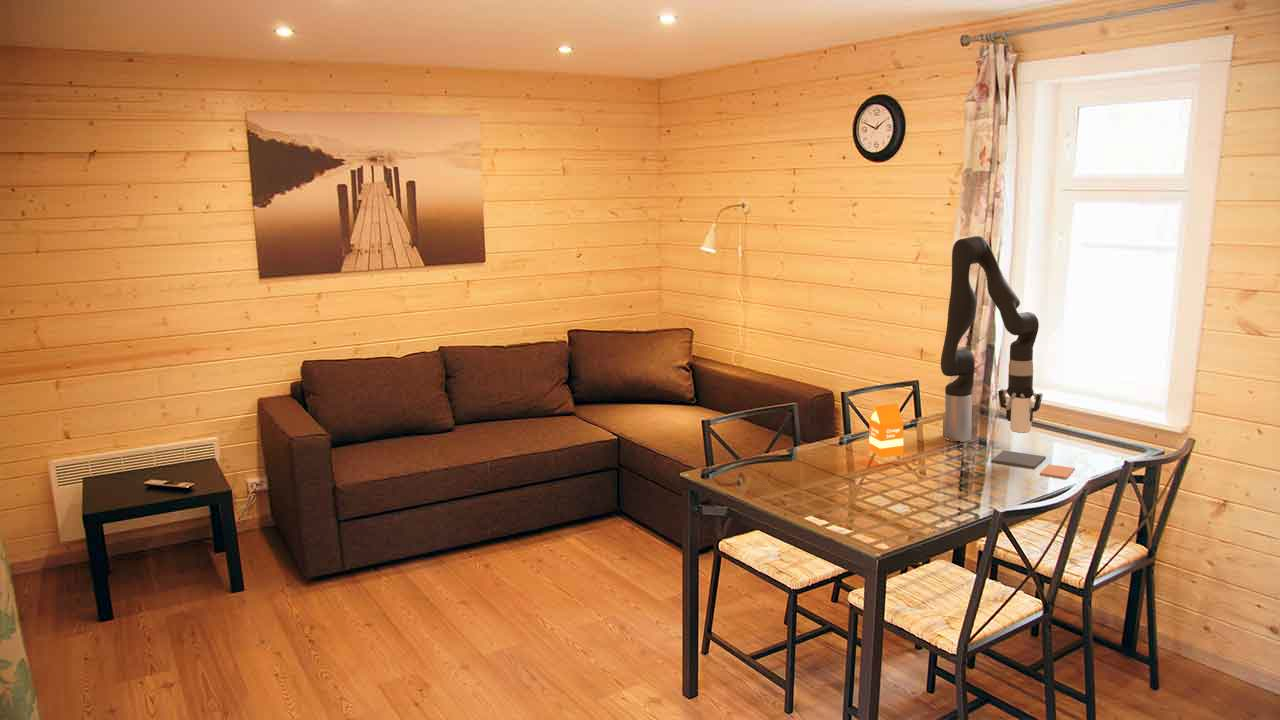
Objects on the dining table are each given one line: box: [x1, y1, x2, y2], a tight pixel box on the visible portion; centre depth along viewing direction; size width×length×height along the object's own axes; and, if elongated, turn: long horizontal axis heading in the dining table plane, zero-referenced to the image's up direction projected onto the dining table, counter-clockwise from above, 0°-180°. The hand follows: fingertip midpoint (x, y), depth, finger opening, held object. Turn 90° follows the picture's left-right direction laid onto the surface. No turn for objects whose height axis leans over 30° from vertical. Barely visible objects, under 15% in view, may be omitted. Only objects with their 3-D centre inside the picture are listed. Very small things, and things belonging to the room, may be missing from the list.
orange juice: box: [868, 403, 904, 458], centre depth 312 cm, size 8×9×20 cm
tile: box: [1039, 464, 1076, 480], centre depth 292 cm, size 8×1×10 cm
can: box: [1009, 397, 1033, 434], centre depth 302 cm, size 6×6×12 cm
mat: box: [991, 450, 1047, 470], centre depth 306 cm, size 14×12×1 cm
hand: (1019, 421), depth 303 cm, fingers closed on can, 5 cm apart
